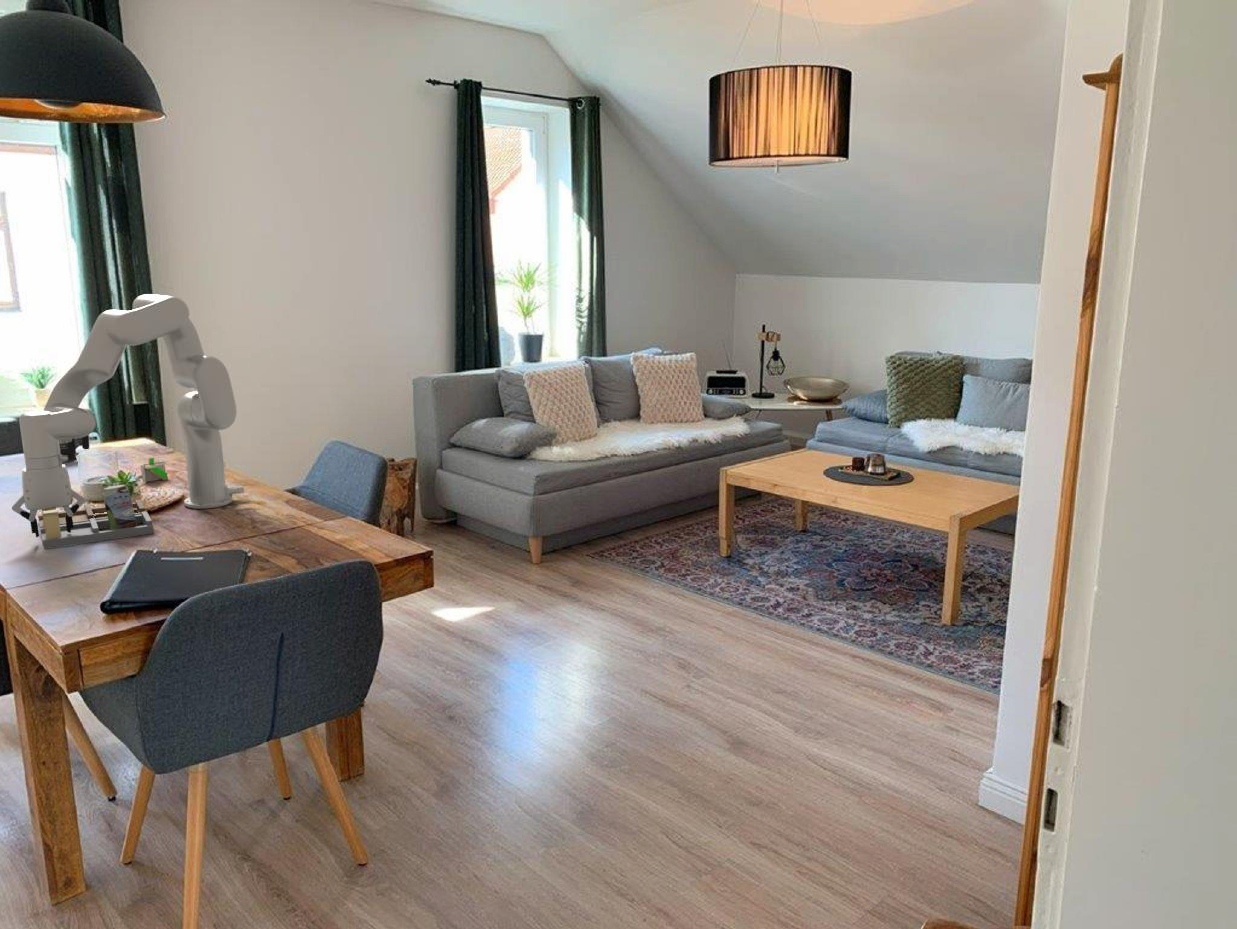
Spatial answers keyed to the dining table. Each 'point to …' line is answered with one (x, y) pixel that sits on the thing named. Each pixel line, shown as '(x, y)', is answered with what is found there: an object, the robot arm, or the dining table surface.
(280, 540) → the dining table surface
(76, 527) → the grey divided tray
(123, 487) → the grey printed packet
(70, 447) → the milk frother
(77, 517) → the plank with end posts
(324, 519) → the dining table surface
